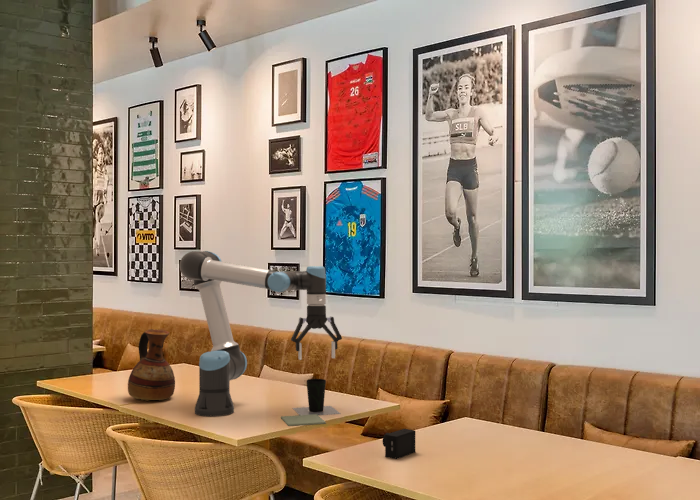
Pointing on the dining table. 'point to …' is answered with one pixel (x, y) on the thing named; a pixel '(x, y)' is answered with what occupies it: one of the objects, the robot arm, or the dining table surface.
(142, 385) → the ceramic pitcher
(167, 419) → the dining table surface
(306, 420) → the mat
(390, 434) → the digital camera
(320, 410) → the cup
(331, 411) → the tile
